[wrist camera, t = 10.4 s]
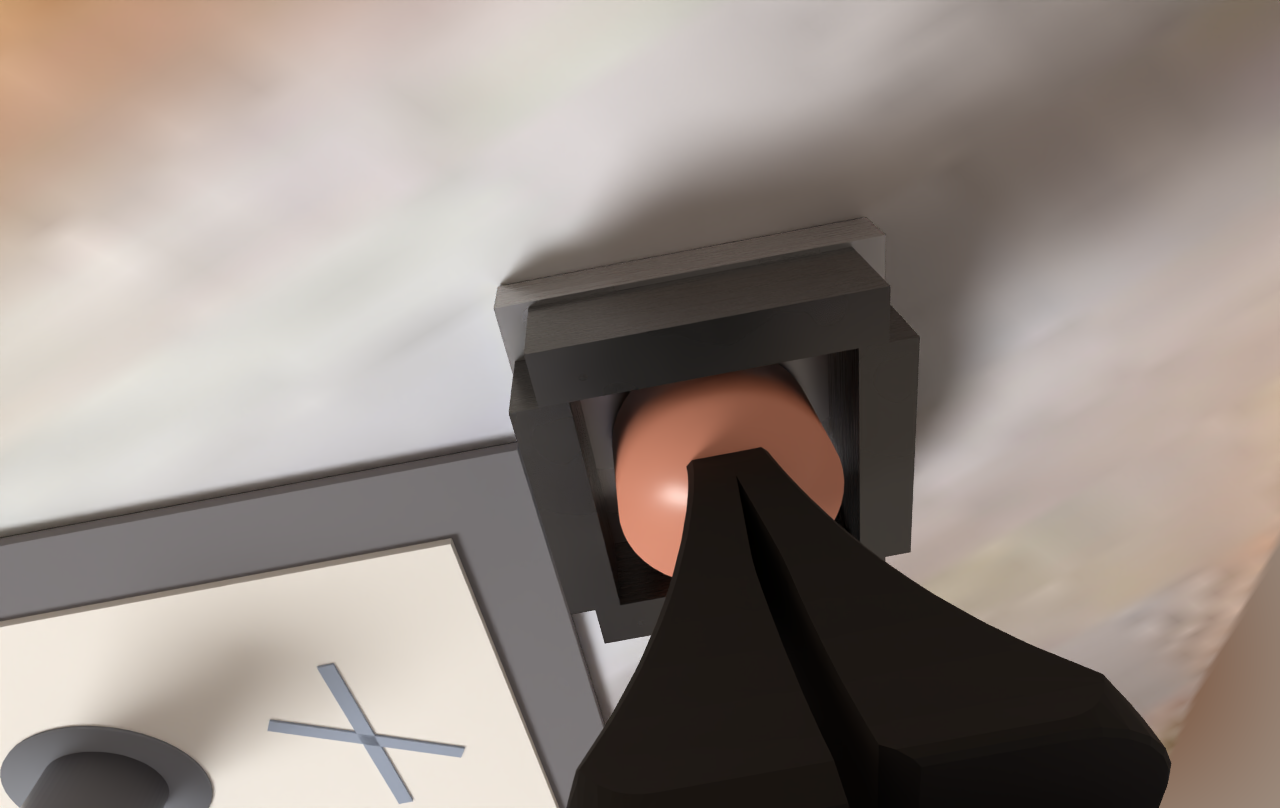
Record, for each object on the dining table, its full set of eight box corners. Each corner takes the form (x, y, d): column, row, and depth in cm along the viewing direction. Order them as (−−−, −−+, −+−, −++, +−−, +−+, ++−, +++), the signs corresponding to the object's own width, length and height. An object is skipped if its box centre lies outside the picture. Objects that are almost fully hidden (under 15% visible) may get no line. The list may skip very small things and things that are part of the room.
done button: (815, 497, 16) (845, 563, 14) (630, 531, 16) (638, 601, 14) (807, 330, 14) (842, 384, 12) (593, 370, 14) (598, 430, 12)
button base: (866, 503, 18) (913, 590, 15) (575, 557, 18) (576, 652, 15) (865, 216, 14) (928, 272, 11) (497, 286, 14) (484, 355, 12)
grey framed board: (639, 837, 24) (640, 856, 24) (41, 945, 24) (31, 966, 24) (517, 442, 16) (516, 458, 15) (-394, 611, 16) (-426, 633, 16)
